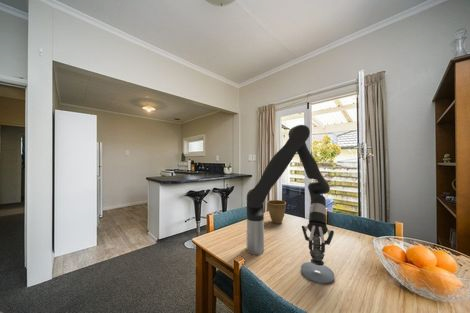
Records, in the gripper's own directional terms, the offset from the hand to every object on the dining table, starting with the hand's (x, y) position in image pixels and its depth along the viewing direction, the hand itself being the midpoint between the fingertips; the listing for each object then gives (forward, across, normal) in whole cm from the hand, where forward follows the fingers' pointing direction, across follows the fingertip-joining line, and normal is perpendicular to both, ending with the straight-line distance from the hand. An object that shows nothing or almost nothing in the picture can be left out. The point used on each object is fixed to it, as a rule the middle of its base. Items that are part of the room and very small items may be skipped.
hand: (316, 251), depth 73 cm
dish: (+6, 0, +8) cm, 10 cm away
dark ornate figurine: (+2, 0, +5) cm, 6 cm away
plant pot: (-32, -33, +47) cm, 65 cm away
